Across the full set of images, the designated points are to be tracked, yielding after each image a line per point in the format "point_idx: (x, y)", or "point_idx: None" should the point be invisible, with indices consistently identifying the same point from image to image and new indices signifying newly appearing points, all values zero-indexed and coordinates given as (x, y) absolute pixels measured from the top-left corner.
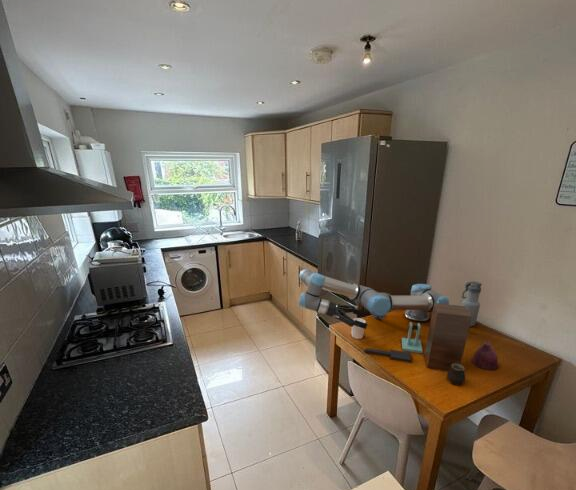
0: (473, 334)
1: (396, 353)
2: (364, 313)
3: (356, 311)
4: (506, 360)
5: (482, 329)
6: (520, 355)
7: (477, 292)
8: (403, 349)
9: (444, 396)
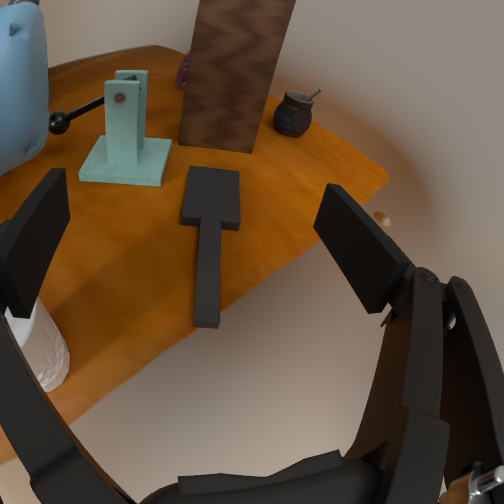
0: (75, 77)
1: (207, 201)
2: (61, 186)
3: (28, 253)
4: (175, 68)
5: (59, 70)
6: (155, 58)
7: (38, 4)
8: (160, 180)
9: (352, 161)
